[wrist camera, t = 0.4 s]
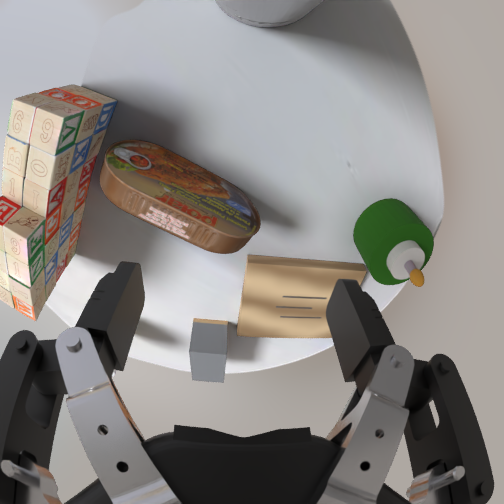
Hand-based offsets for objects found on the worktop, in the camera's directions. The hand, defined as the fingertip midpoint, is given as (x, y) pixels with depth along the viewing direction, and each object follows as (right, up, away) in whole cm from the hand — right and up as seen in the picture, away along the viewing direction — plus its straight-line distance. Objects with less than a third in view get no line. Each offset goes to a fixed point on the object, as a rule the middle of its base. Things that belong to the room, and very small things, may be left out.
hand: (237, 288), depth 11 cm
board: (+7, -5, +26) cm, 27 cm away
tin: (-6, +9, +15) cm, 19 cm away
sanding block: (-6, -12, +31) cm, 34 cm away
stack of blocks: (-20, +10, +14) cm, 27 cm away
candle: (+16, +4, +20) cm, 26 cm away
